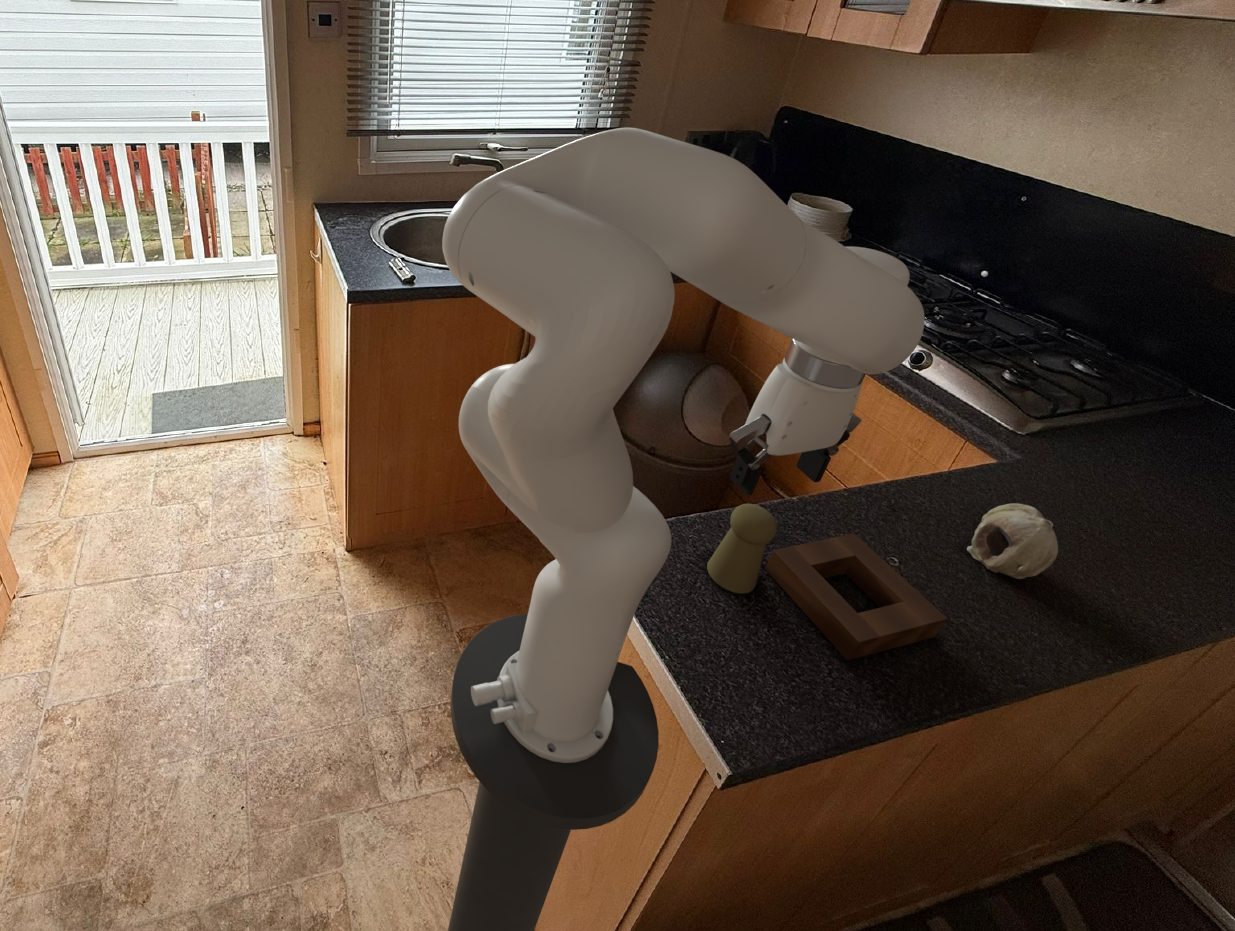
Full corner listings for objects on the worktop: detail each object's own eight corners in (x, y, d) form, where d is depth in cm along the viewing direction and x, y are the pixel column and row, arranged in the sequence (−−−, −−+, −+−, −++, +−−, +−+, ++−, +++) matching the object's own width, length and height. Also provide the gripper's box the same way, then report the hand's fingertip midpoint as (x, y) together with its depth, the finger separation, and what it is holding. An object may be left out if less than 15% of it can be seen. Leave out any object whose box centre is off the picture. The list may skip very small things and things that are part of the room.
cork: (708, 585, 86) (734, 524, 80) (705, 550, 91) (729, 491, 85) (759, 599, 84) (788, 538, 79) (752, 563, 89) (779, 503, 84)
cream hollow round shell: (968, 549, 97) (990, 486, 95) (1045, 579, 91) (1070, 513, 89) (959, 565, 91) (983, 498, 89) (1042, 598, 85) (1069, 527, 83)
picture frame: (847, 661, 77) (859, 642, 76) (764, 568, 89) (773, 550, 87) (934, 637, 81) (948, 618, 79) (844, 551, 92) (854, 533, 90)
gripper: (860, 335, 76) (808, 449, 85) (734, 351, 72) (693, 470, 80) (919, 371, 70) (857, 491, 78) (785, 391, 66) (734, 515, 74)
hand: (774, 480), depth 79 cm, fingers open, 9 cm apart
